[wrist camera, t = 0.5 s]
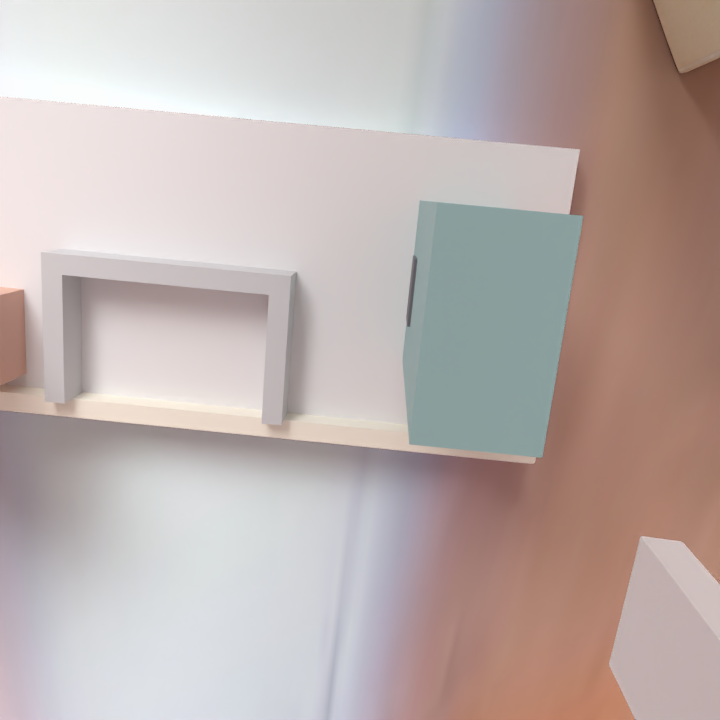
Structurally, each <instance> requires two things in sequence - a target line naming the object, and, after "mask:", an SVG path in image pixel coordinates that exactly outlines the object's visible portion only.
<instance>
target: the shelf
mask: <svg viewBox="0 0 720 720" xmlns="http://www.w3.org/2000/svg"><path fill="white" fill-rule="evenodd" d="M579 152H580V149H569V148H558V147H547V146H536V145H525V144H514V143H503V142H492V141H481V140H470V139H459V138H448V137H437V136H426V135H415V134H405V133H394V132H383V131H372V130H361V129H350V128H339V127H328V126H317V125H306V124H295V123H284V122H273V121H262V120H251V119H240V118H229V117H218V116H207V115H196V114H185V113H174V112H163V111H152V110H141V109H130V108H119V107H108V106H98V105H87V104H76V103H65V102H54V101H43V100H32V99H21V98H10V97H0V287H7V288H17V289H24V313H25V342H26V371H27V373H26V374H24V375H22V376H20V377H18V378H16V379H14V380H11V381H9V382H7V383H5V384H3V385H1V386H0V410H1V411H11V412H21V413H31V414H41V415H50V416H60V417H70V418H80V419H90V420H100V421H110V422H120V423H130V424H140V425H150V426H160V427H169V428H179V429H189V430H199V431H209V432H219V433H229V434H239V435H249V436H259V437H269V438H278V439H288V440H298V441H308V442H318V443H328V444H338V445H348V446H358V447H368V448H378V449H388V450H397V451H407V452H417V453H427V454H437V455H447V456H457V457H467V458H477V459H487V460H497V461H506V462H516V463H526V464H528V463H531V464H535V459H536V457H529V456H519V455H509V454H499V453H490V452H480V451H470V450H460V449H450V448H440V447H430V446H420V445H410V444H409V434H408V422H407V410H406V397H405V385H404V373H403V360H402V359H403V350H404V341H405V331H406V315H407V305H408V296H409V287H410V278H411V269H412V260H413V255H414V249H415V240H416V231H417V222H418V213H419V203H420V200H422V201H432V202H443V203H454V204H464V205H475V206H486V207H497V208H507V209H518V210H528V211H539V212H549V213H559V214H569V213H570V207H571V201H572V195H573V189H574V183H575V177H576V171H577V165H578V159H579Z"/></svg>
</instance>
